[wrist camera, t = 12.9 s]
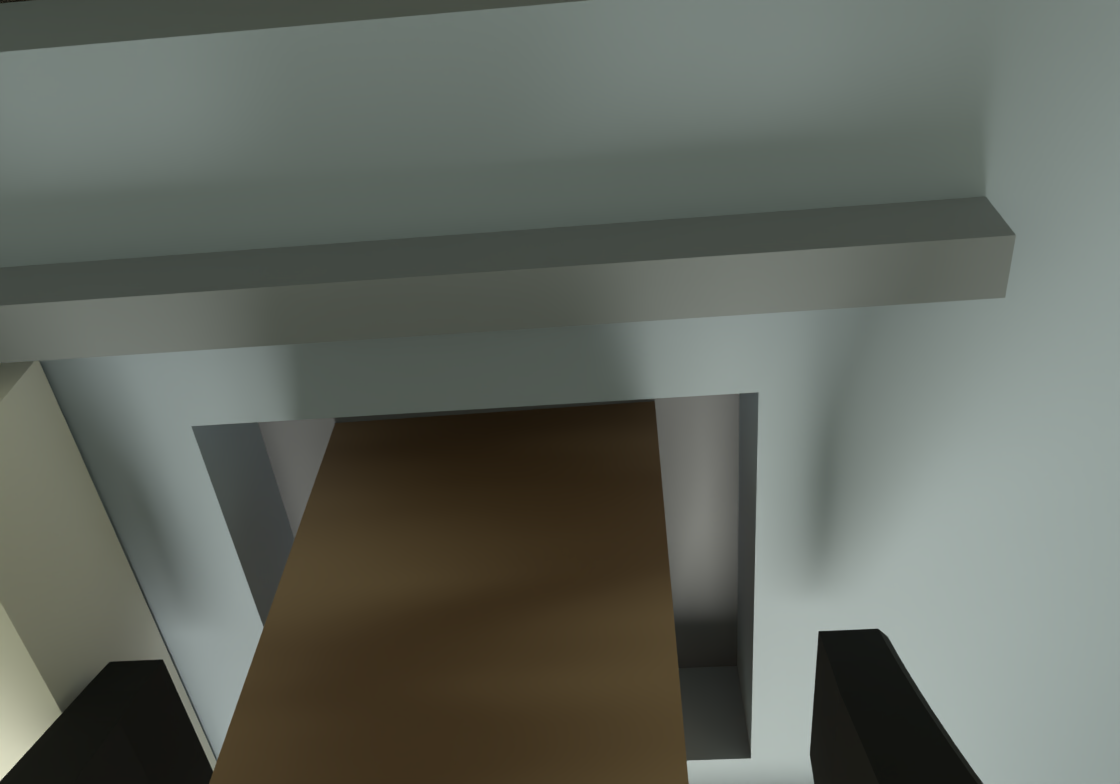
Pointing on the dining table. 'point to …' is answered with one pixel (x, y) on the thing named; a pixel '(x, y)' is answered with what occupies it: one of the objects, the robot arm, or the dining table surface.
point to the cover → (58, 573)
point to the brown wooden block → (472, 610)
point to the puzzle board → (612, 313)
